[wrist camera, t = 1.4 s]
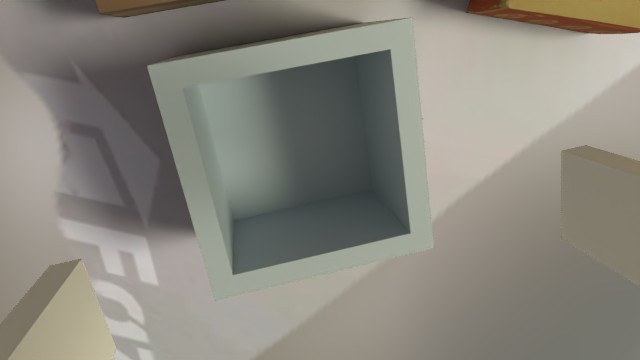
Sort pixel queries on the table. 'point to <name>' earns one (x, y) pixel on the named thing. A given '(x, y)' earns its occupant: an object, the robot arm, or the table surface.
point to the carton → (567, 13)
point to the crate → (143, 6)
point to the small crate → (299, 153)
